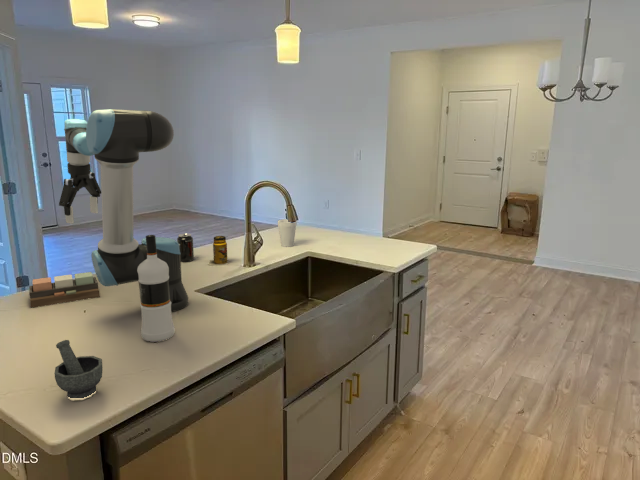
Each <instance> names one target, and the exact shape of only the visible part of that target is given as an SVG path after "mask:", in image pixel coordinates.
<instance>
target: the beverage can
mask: <svg viewBox="0 0 640 480" xmlns="http://www.w3.org/2000/svg"><path fill="white" fill-rule="evenodd" d="M176 241H177V242H178V243H179V249H180V253H181V254H180V260H181V263H188V262H189V263H190V262H192V261H193V260H194V258H195V253H194V238H193V236H192V234H191V233H180V234H178V237H177V239H176Z"/></svg>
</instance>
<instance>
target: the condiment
mask: <svg viewBox="0 0 640 480" xmlns="http://www.w3.org/2000/svg"><path fill="white" fill-rule="evenodd" d="M212 252H213V259H211V260H209V263H208V266H226V265H229V259H228V244H227V237H226V236H225V235H216V236H214V237H213V243H212Z"/></svg>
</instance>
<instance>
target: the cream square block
mask: <svg viewBox="0 0 640 480" xmlns="http://www.w3.org/2000/svg"><path fill="white" fill-rule="evenodd" d="M53 279H54V280H53V281H54V282H55V288H56V289H57V288H64V287H71V286H73V280H74V279H73V275H72V274H65V275H57V276H53Z"/></svg>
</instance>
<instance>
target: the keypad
mask: <svg viewBox="0 0 640 480" xmlns="http://www.w3.org/2000/svg"><path fill="white" fill-rule="evenodd" d="M93 282H94V283H92V284H85V285H78V286H76V282H75V279H73V286H71V287H64V288H57V289H56V288H55V281H54V282H52V289H50V290H43V291H36V292H34V291H33V285H29V290H28V291H29V292H28V293H29V294H28V295H29V303H30V309H31V308H32V307H33V308H38V306H40V307H45V305H46V306H50V305H51V304H52V305H57V303H59V304H64V303H63V302H65V303H70V301H71V302H75V301H76V300H78V301H83V299H84V300H89V299H88V298H91V299H95V297H97V298H100V297H101V295H100V294H101V293H100V289H99V283H98V279H97V276H93ZM76 302H77V301H76ZM52 305H51V306H52Z"/></svg>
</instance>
